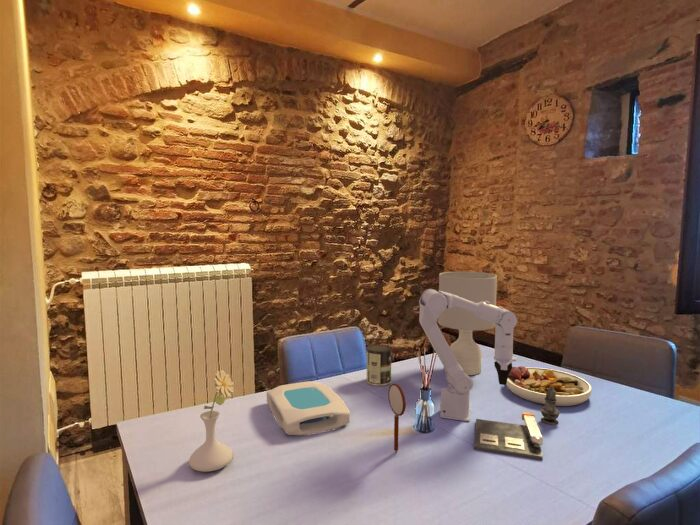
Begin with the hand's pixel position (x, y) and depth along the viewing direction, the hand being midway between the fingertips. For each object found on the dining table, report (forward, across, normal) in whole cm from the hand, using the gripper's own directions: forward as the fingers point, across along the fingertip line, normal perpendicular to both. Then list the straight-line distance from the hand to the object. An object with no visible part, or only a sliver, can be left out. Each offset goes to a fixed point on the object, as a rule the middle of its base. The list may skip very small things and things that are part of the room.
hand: (502, 383), depth 145 cm
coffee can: (+10, +16, +47) cm, 51 cm away
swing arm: (+8, -15, -8) cm, 19 cm away
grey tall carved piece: (+11, -1, -15) cm, 18 cm away
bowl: (+11, +25, -17) cm, 32 cm away
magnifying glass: (+10, -36, +29) cm, 48 cm away
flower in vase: (+10, -56, +75) cm, 94 cm away
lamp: (+11, +41, +14) cm, 45 cm away
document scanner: (+10, -21, +63) cm, 68 cm away
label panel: (+10, -18, -1) cm, 21 cm away
